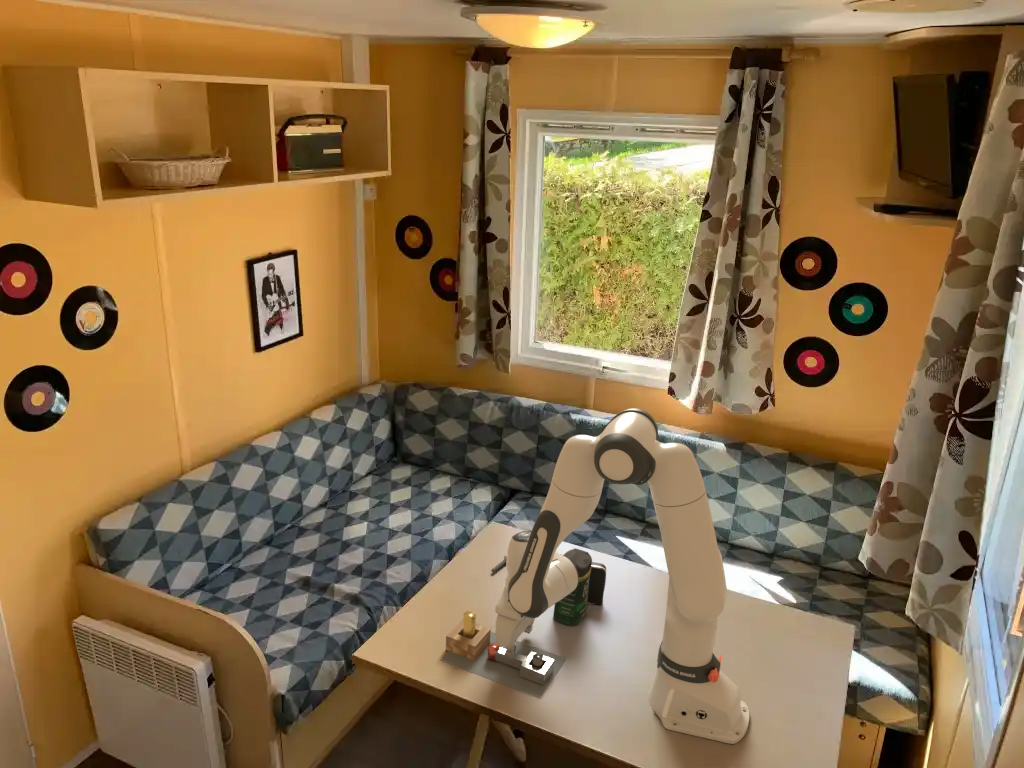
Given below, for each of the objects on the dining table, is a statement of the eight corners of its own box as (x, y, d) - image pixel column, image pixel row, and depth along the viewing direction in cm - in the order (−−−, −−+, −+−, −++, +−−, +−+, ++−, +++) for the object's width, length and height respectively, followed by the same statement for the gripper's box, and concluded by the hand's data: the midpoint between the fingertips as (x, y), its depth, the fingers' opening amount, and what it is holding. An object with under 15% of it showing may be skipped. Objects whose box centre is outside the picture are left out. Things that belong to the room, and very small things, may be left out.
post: (543, 673, 185) (544, 655, 184) (539, 679, 183) (540, 661, 182) (534, 669, 186) (535, 652, 185) (529, 675, 184) (531, 657, 183)
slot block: (490, 642, 195) (490, 628, 194) (474, 660, 188) (475, 646, 187) (461, 632, 198) (462, 618, 197) (445, 649, 192) (446, 635, 190)
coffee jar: (577, 631, 202) (583, 568, 197) (549, 621, 206) (554, 559, 200) (590, 612, 211) (596, 551, 205) (563, 603, 214) (568, 542, 208)
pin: (476, 644, 194) (478, 613, 191) (470, 651, 191) (472, 620, 189) (465, 640, 195) (467, 609, 192) (459, 647, 193) (461, 616, 190)
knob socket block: (553, 670, 186) (554, 659, 185) (543, 685, 181) (544, 674, 180) (493, 648, 193) (494, 637, 192) (482, 662, 187) (482, 651, 186)
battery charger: (604, 598, 217) (607, 562, 214) (602, 606, 214) (606, 569, 210) (578, 594, 218) (582, 558, 215) (577, 602, 215) (580, 565, 211)
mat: (566, 660, 191) (566, 658, 191) (539, 700, 177) (539, 698, 177) (472, 627, 202) (473, 625, 201) (440, 662, 188) (440, 660, 188)
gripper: (529, 569, 200) (526, 616, 204) (491, 610, 182) (489, 660, 186) (552, 576, 197) (548, 623, 201) (516, 618, 179) (512, 669, 184)
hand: (519, 641), depth 194 cm, fingers open, 8 cm apart
